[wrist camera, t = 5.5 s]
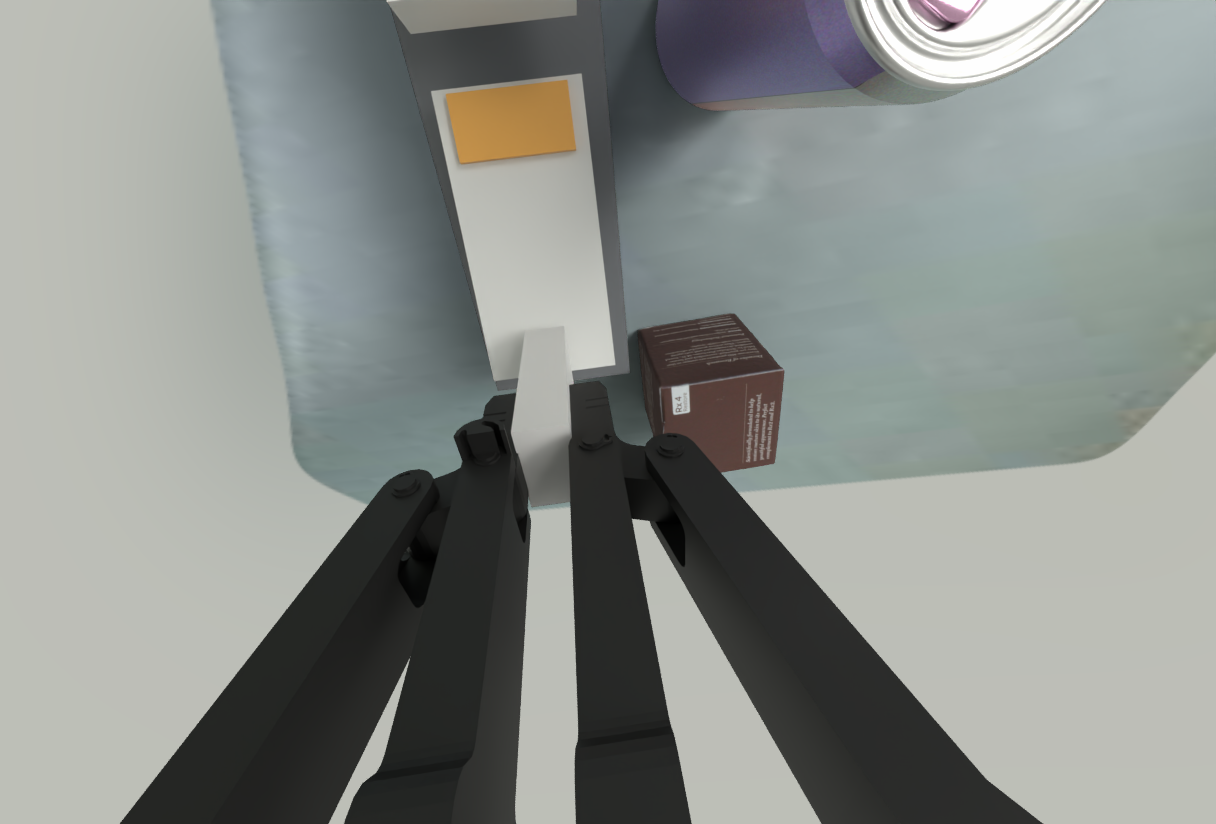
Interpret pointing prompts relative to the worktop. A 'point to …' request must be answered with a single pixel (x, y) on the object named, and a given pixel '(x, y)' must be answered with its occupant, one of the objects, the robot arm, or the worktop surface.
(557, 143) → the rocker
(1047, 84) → the worktop surface
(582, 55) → the switch panel
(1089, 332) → the worktop surface
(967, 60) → the beverage can
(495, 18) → the block
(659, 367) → the box
